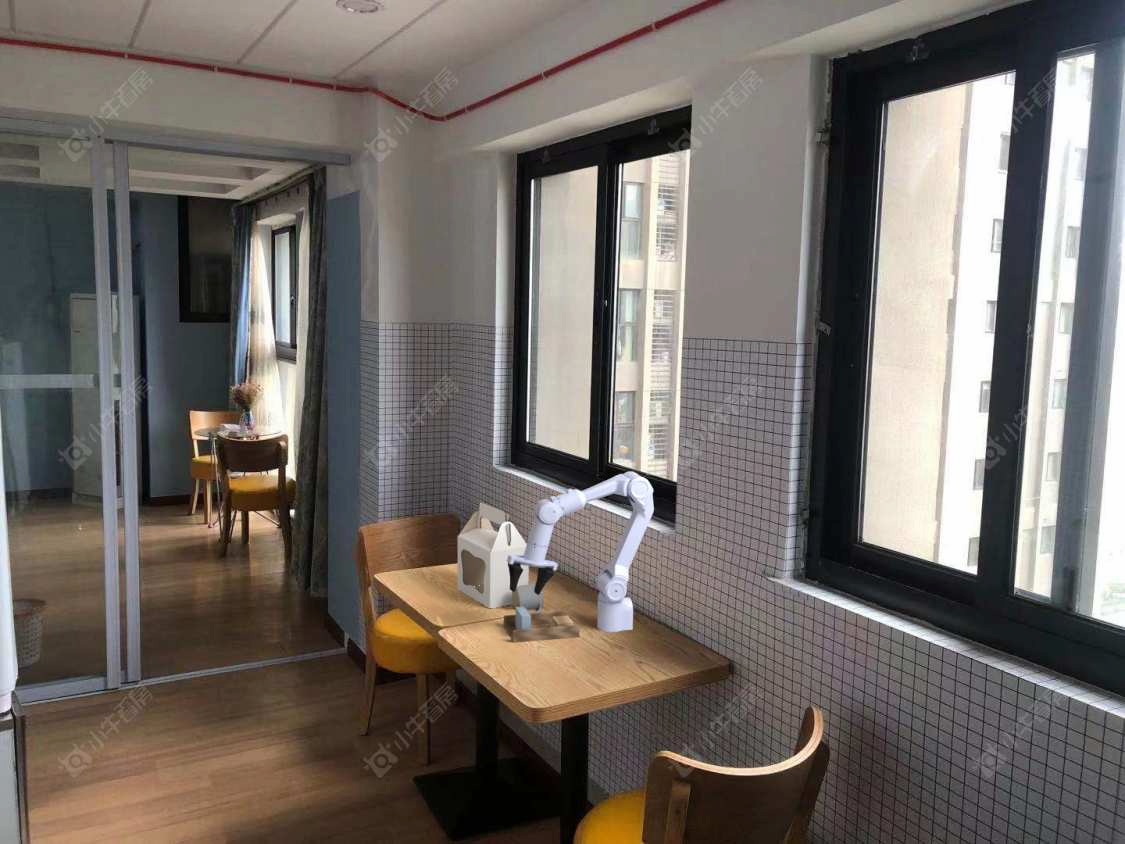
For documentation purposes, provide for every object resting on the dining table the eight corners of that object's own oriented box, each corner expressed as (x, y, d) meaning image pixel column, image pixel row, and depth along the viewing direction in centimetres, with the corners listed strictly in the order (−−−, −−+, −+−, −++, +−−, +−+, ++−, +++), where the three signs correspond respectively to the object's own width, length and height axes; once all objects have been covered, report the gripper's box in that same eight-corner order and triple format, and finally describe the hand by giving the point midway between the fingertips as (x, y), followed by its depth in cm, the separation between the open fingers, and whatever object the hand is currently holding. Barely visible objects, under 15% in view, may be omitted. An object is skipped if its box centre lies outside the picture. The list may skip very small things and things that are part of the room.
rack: (566, 623, 256) (566, 610, 256) (579, 640, 244) (579, 626, 244) (503, 628, 252) (503, 615, 251) (513, 645, 239) (513, 631, 239)
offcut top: (567, 620, 252) (567, 615, 252) (573, 628, 246) (573, 622, 246) (552, 621, 251) (552, 616, 251) (557, 629, 245) (557, 623, 245)
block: (523, 627, 251) (524, 606, 250) (530, 637, 243) (530, 615, 242) (515, 628, 250) (515, 607, 249) (521, 638, 242) (522, 616, 242)
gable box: (529, 602, 275) (530, 511, 271) (490, 609, 268) (490, 516, 264) (494, 583, 293) (494, 498, 290) (456, 589, 286) (457, 502, 283)
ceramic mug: (510, 606, 271) (510, 581, 269) (537, 604, 273) (537, 579, 272) (520, 619, 261) (520, 593, 259) (547, 616, 263) (548, 590, 262)
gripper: (553, 543, 251) (540, 589, 252) (508, 535, 244) (494, 583, 245) (566, 550, 245) (552, 598, 246) (519, 543, 238) (505, 592, 239)
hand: (524, 592), depth 245 cm, fingers open, 7 cm apart
